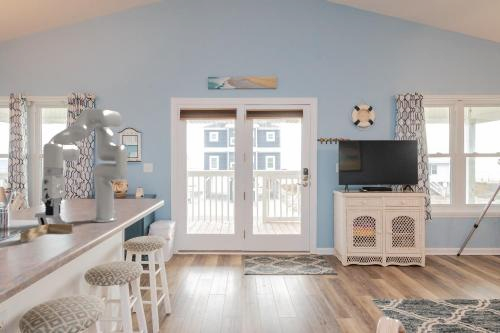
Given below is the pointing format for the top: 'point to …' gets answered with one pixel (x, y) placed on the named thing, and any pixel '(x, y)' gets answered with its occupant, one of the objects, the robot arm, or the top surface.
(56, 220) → the hinge
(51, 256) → the top surface
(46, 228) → the wooden corner frame
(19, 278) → the top surface
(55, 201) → the bracket
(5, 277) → the top surface
